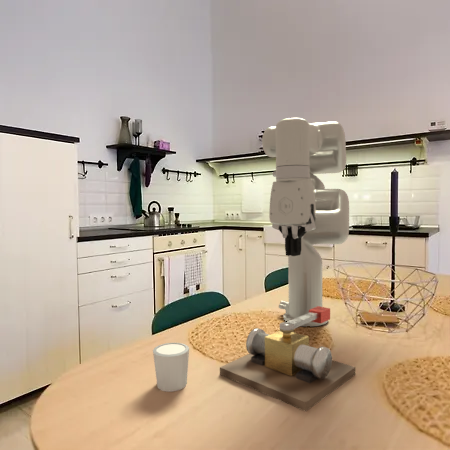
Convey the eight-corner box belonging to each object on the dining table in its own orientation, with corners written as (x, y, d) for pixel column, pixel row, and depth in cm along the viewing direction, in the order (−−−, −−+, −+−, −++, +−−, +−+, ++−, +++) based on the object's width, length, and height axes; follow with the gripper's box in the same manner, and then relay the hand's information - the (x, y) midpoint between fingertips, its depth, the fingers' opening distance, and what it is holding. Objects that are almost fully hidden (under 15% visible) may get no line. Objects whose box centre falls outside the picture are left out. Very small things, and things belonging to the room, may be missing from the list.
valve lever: (276, 334, 76) (276, 323, 76) (318, 316, 88) (318, 306, 87) (289, 338, 74) (288, 326, 74) (330, 319, 85) (330, 308, 85)
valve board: (219, 374, 77) (219, 366, 77) (274, 348, 90) (273, 341, 90) (305, 411, 63) (305, 401, 63) (355, 374, 76) (355, 366, 76)
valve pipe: (245, 360, 80) (245, 325, 80) (263, 351, 84) (263, 318, 84) (315, 386, 69) (315, 345, 68) (332, 374, 73) (332, 336, 72)
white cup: (195, 378, 76) (194, 344, 75) (180, 395, 69) (179, 357, 69) (164, 374, 78) (163, 340, 77) (147, 390, 71) (145, 353, 71)
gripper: (256, 176, 90) (257, 254, 91) (313, 172, 79) (313, 260, 80) (275, 177, 95) (276, 250, 96) (331, 173, 84) (331, 256, 86)
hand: (293, 254), depth 88 cm, fingers closed
